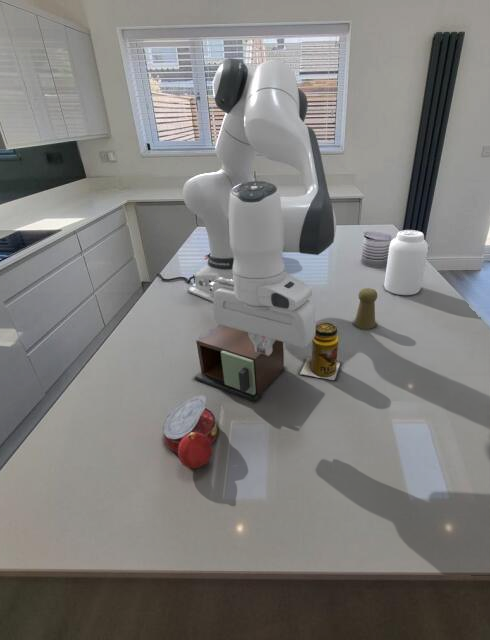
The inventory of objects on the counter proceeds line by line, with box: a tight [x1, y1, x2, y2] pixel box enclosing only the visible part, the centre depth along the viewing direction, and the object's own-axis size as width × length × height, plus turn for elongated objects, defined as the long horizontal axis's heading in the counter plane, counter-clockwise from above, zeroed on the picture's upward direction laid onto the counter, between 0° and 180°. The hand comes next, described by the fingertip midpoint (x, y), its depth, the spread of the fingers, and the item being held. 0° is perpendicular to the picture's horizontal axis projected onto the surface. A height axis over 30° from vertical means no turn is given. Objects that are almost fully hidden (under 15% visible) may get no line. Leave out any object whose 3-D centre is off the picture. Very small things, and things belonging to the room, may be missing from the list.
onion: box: [177, 432, 213, 469], centre depth 65 cm, size 6×6×8 cm
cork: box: [354, 287, 378, 330], centre depth 108 cm, size 6×6×11 cm
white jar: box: [383, 229, 429, 296], centre depth 127 cm, size 12×12×20 cm
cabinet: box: [194, 324, 285, 402], centre depth 87 cm, size 17×14×10 cm
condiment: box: [299, 322, 341, 381], centre depth 88 cm, size 7×8×12 cm
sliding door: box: [221, 351, 256, 395], centre depth 80 cm, size 8×3×9 cm, turn 61°
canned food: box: [162, 394, 218, 454], centre depth 71 cm, size 11×10×10 cm
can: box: [361, 230, 394, 268], centre depth 153 cm, size 11×11×12 cm
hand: (263, 352), depth 71 cm, fingers closed
